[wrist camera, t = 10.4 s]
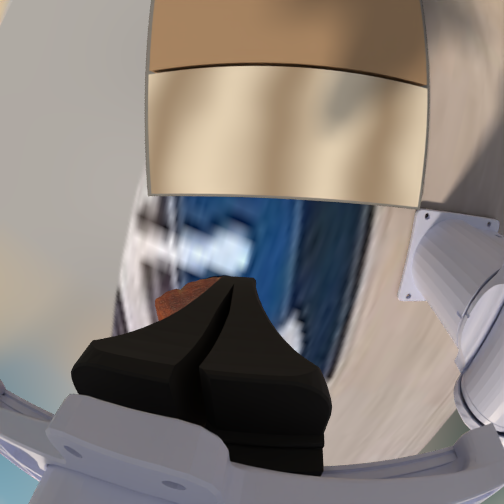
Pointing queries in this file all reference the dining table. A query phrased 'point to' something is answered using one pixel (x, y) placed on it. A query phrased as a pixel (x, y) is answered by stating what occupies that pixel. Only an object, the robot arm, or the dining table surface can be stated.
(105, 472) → the robot arm
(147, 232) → the dining table surface
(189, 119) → the ash plank
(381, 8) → the floor base
